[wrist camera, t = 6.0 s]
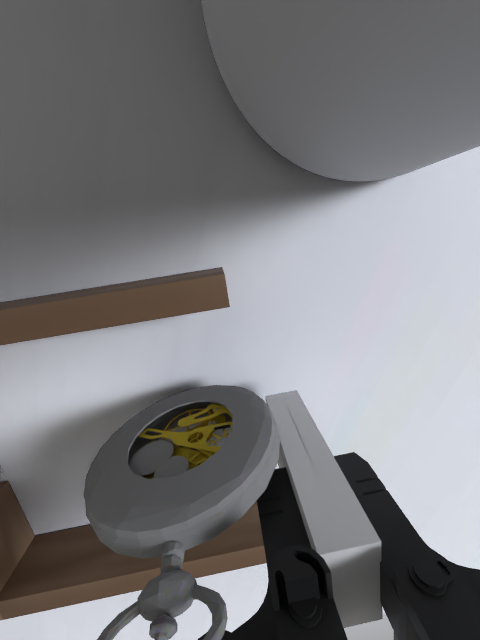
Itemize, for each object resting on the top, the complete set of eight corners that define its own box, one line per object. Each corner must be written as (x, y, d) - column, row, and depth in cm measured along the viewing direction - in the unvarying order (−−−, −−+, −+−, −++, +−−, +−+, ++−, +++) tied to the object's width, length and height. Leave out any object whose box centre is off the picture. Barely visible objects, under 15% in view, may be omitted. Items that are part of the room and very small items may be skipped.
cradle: (-104, 319, 12) (-208, 343, 9) (221, 267, 12) (224, 274, 9) (21, 555, 16) (-23, 625, 13) (261, 505, 16) (271, 561, 13)
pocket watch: (217, 508, 16) (223, 902, 6) (95, 432, 14) (-167, 848, 4) (316, 415, 15) (501, 723, 5) (199, 318, 13) (158, 534, 3)
